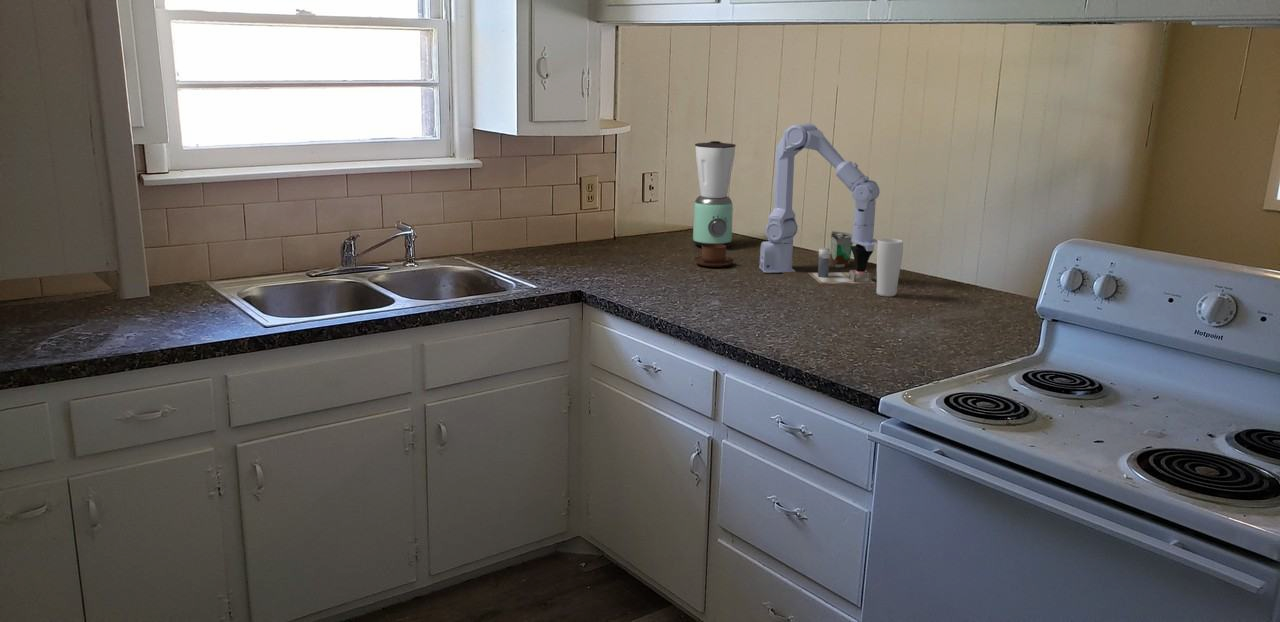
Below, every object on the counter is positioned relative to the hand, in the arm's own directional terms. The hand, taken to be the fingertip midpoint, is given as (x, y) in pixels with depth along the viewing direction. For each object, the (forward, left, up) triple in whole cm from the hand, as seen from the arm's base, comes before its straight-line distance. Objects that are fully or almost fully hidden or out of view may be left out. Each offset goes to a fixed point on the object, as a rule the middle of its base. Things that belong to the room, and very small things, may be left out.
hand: (860, 271), depth 281 cm
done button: (0, 0, -2) cm, 2 cm away
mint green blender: (-34, +57, -3) cm, 66 cm away
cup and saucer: (-38, +25, -4) cm, 46 cm away
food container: (+1, +22, -3) cm, 22 cm away
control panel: (-5, +4, -3) cm, 7 cm away
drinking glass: (+2, -15, -3) cm, 16 cm away
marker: (-10, +5, -2) cm, 11 cm away
